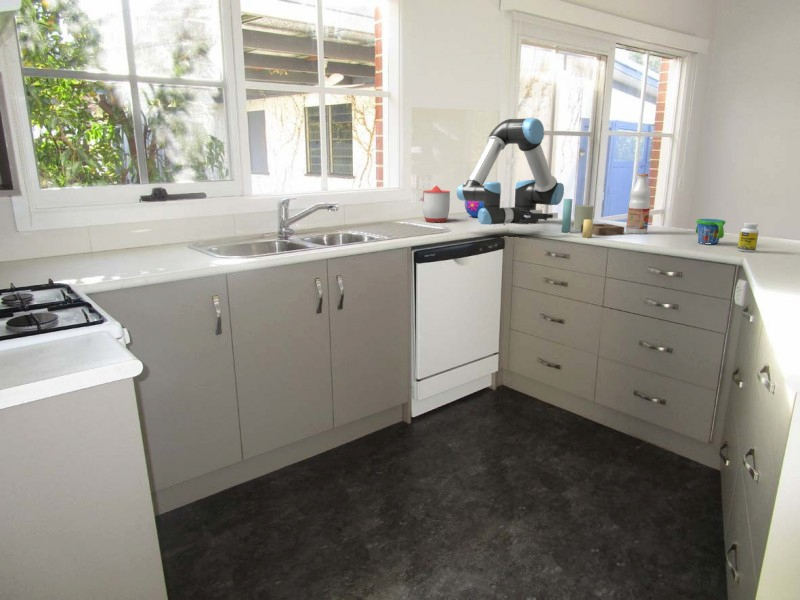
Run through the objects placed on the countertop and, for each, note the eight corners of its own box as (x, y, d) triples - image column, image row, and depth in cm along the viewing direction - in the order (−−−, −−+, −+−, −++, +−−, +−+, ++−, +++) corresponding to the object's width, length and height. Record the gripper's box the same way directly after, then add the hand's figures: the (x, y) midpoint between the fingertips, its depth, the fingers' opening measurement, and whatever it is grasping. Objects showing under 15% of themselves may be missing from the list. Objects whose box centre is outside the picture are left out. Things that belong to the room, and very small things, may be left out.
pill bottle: (736, 251, 222) (741, 223, 219) (737, 249, 227) (742, 221, 224) (755, 253, 218) (759, 224, 216) (755, 250, 223) (760, 223, 221)
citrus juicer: (419, 219, 324) (419, 184, 319) (449, 219, 323) (449, 184, 318) (418, 223, 309) (419, 186, 304) (450, 223, 308) (451, 186, 303)
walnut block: (580, 231, 276) (581, 224, 275) (604, 230, 280) (605, 223, 279) (598, 235, 263) (599, 228, 262) (623, 234, 267) (624, 226, 266)
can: (588, 230, 281) (590, 206, 278) (570, 228, 286) (572, 205, 283) (594, 228, 288) (596, 204, 285) (577, 226, 293) (578, 203, 290)
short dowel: (580, 236, 260) (581, 219, 258) (587, 236, 261) (589, 219, 259) (585, 238, 256) (587, 220, 254) (593, 237, 257) (594, 220, 255)
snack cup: (686, 240, 248) (689, 217, 245) (710, 240, 248) (713, 217, 245) (704, 246, 233) (708, 222, 230) (730, 246, 233) (733, 222, 230)
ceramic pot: (492, 219, 326) (493, 193, 322) (462, 218, 330) (463, 192, 326) (495, 215, 342) (496, 190, 338) (466, 215, 346) (466, 190, 342)
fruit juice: (624, 231, 277) (630, 173, 269) (644, 231, 275) (651, 173, 267) (627, 234, 268) (634, 174, 260) (648, 234, 266) (655, 174, 259)
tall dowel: (559, 231, 275) (562, 199, 271) (566, 231, 277) (569, 198, 272) (564, 232, 272) (566, 199, 268) (571, 232, 273) (574, 199, 269)
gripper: (497, 220, 275) (535, 218, 281) (523, 226, 252) (563, 225, 258) (498, 205, 273) (536, 203, 279) (524, 210, 250) (565, 208, 256)
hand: (549, 214), depth 269 cm, fingers open, 13 cm apart
